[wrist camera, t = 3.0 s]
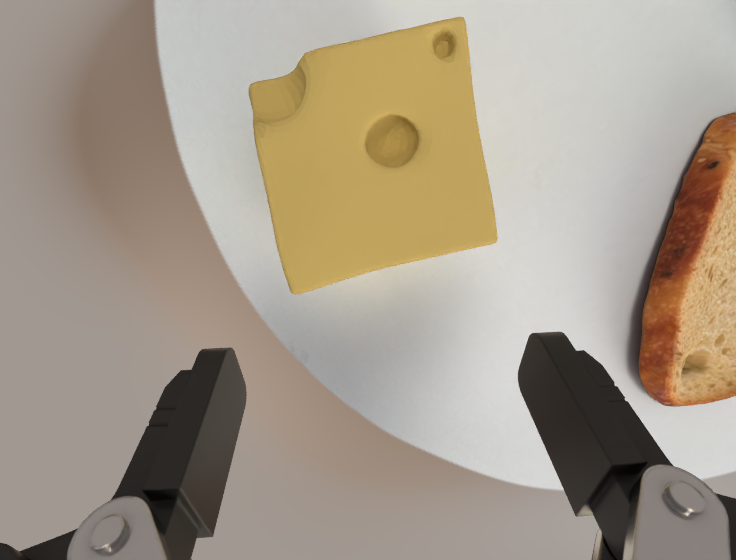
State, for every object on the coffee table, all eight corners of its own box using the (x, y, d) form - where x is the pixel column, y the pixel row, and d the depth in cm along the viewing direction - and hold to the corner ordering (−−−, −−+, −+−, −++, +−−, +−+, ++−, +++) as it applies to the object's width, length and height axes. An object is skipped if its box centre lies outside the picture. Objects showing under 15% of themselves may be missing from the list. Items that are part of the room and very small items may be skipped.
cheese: (268, 114, 25) (218, 55, 15) (428, 79, 25) (481, -1, 15) (307, 267, 27) (285, 302, 17) (454, 234, 27) (515, 251, 17)
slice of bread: (750, 90, 26) (815, 71, 23) (855, 283, 30) (927, 294, 26) (541, 257, 28) (571, 265, 24) (664, 423, 31) (706, 452, 28)
